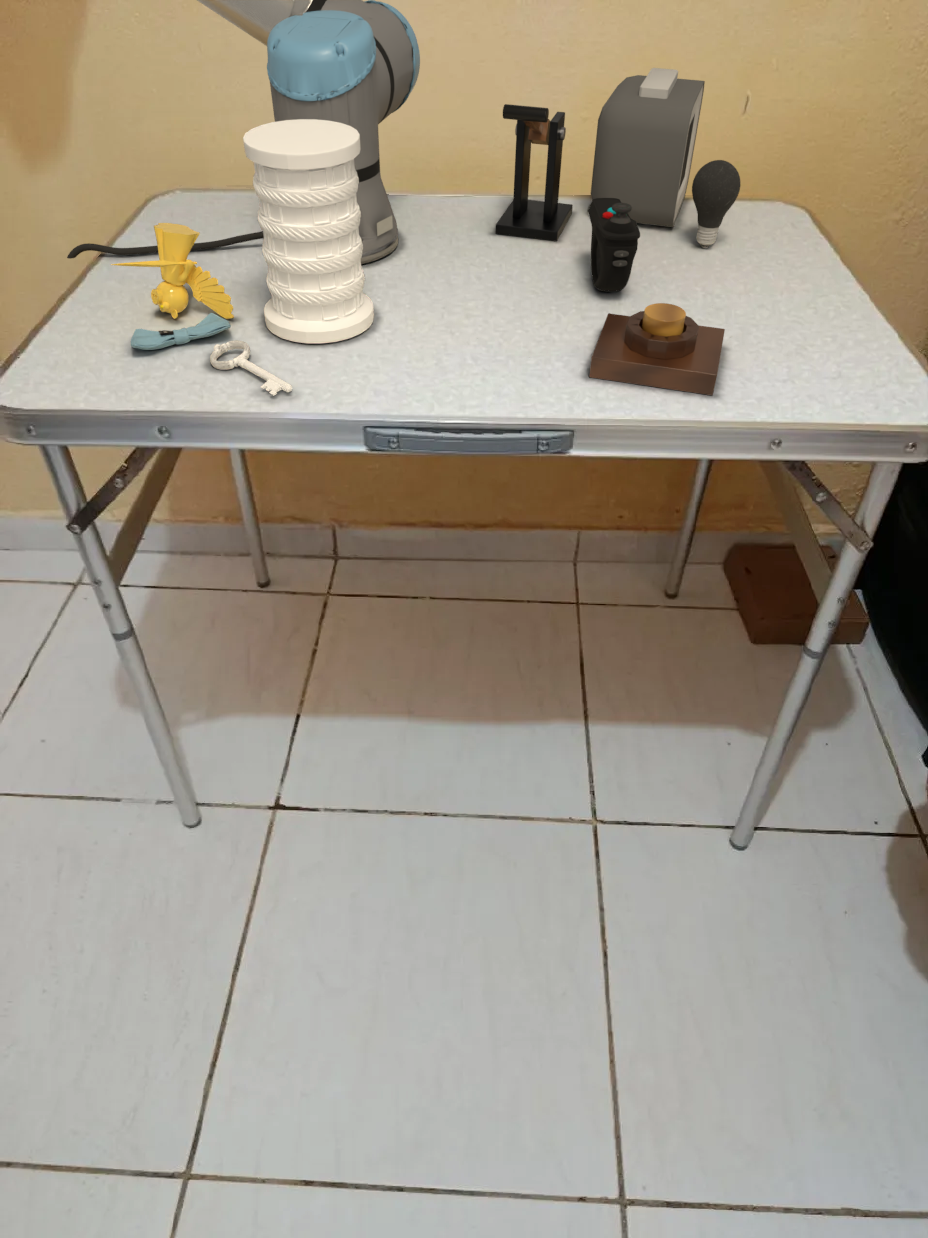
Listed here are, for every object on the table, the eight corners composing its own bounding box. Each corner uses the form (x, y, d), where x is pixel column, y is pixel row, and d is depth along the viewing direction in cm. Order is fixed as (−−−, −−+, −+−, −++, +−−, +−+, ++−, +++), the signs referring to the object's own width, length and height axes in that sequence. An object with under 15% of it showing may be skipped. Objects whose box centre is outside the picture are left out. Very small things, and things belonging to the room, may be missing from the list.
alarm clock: (670, 234, 117) (693, 98, 107) (583, 223, 120) (597, 89, 109) (686, 192, 129) (708, 65, 118) (606, 183, 131) (620, 58, 120)
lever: (544, 125, 102) (548, 101, 101) (501, 121, 103) (504, 97, 102) (560, 146, 113) (563, 124, 112) (521, 142, 114) (523, 120, 113)
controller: (595, 308, 101) (606, 215, 95) (579, 263, 110) (588, 175, 104) (634, 307, 102) (647, 214, 95) (614, 262, 111) (625, 175, 104)
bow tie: (130, 345, 95) (136, 360, 91) (125, 330, 94) (131, 344, 90) (226, 324, 98) (236, 338, 94) (222, 309, 97) (232, 322, 93)
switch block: (589, 377, 90) (593, 339, 87) (605, 332, 97) (610, 296, 94) (712, 395, 88) (721, 357, 85) (720, 348, 95) (728, 311, 92)
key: (198, 353, 91) (231, 332, 93) (201, 361, 92) (234, 340, 94) (272, 396, 85) (306, 373, 87) (275, 404, 86) (309, 381, 88)
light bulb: (725, 238, 116) (742, 154, 110) (729, 256, 112) (748, 169, 106) (680, 236, 117) (694, 152, 110) (683, 254, 113) (698, 167, 106)
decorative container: (383, 298, 102) (374, 120, 90) (362, 347, 94) (349, 158, 81) (281, 292, 103) (258, 115, 91) (251, 339, 95) (222, 151, 82)
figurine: (131, 244, 86) (131, 337, 90) (238, 244, 94) (233, 329, 98) (66, 212, 92) (69, 301, 96) (172, 214, 100) (171, 296, 104)
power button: (639, 335, 89) (641, 317, 88) (644, 317, 92) (647, 300, 91) (680, 340, 88) (683, 323, 87) (684, 322, 91) (688, 305, 90)
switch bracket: (556, 241, 115) (565, 129, 106) (495, 233, 117) (499, 123, 108) (572, 213, 122) (581, 106, 113) (513, 206, 124) (518, 101, 115)
